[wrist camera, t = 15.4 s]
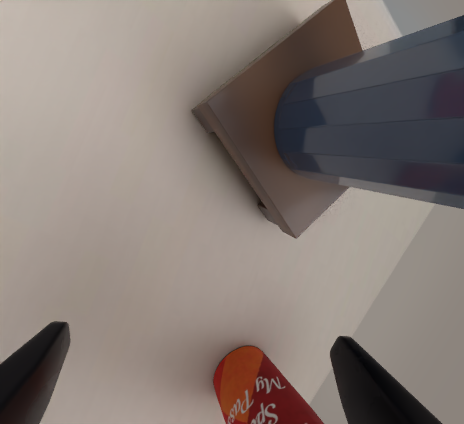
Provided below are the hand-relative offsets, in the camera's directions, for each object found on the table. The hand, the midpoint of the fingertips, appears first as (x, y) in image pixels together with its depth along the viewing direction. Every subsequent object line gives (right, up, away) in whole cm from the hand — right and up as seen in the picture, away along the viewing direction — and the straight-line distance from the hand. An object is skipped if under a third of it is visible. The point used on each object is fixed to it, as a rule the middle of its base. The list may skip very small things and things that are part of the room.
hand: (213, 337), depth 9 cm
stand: (+5, +11, +12) cm, 17 cm away
